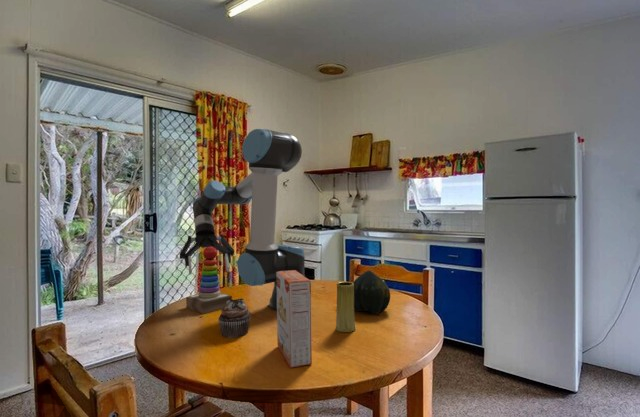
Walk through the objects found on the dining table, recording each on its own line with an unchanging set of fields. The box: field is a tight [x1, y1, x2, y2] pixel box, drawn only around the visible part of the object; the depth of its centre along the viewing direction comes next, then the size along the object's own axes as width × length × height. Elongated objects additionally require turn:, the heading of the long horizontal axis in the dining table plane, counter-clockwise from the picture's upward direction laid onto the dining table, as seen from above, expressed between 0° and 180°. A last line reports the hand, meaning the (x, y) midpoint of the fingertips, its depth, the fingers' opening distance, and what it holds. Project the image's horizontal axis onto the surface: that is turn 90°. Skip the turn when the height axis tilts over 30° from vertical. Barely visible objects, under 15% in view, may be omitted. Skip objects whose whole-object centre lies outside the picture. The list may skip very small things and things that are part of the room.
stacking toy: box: [197, 246, 221, 298], centre depth 135 cm, size 8×8×19 cm
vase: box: [335, 281, 356, 333], centre depth 111 cm, size 6×6×14 cm
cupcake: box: [217, 298, 252, 339], centre depth 108 cm, size 10×10×10 cm
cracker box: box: [276, 270, 313, 369], centre depth 92 cm, size 14×6×21 cm, turn 19°
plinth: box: [185, 292, 233, 315], centre depth 136 cm, size 12×12×4 cm
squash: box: [352, 269, 391, 315], centre depth 130 cm, size 14×15×15 cm
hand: (209, 270), depth 133 cm, fingers open, 13 cm apart
